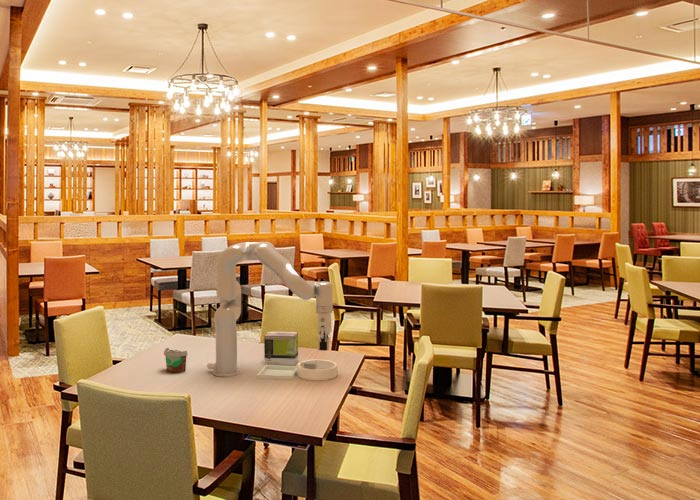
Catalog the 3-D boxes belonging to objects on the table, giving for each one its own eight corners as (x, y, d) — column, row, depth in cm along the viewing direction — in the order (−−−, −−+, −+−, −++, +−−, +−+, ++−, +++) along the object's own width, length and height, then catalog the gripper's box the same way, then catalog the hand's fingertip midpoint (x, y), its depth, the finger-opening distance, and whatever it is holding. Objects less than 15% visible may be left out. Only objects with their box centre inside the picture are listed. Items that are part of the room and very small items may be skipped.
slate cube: (304, 374, 277) (304, 363, 276) (306, 371, 282) (306, 360, 281) (314, 374, 276) (315, 364, 276) (316, 371, 281) (316, 361, 281)
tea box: (298, 360, 303) (298, 331, 302) (294, 366, 293) (294, 336, 292) (268, 359, 304) (268, 330, 303) (263, 365, 294) (263, 334, 293)
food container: (158, 371, 282) (157, 350, 281) (167, 368, 287) (167, 347, 286) (178, 375, 276) (178, 353, 275) (187, 372, 281) (187, 350, 280)
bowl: (293, 380, 271) (293, 369, 270) (301, 368, 288) (301, 358, 288) (334, 381, 269) (334, 371, 268) (339, 370, 287) (339, 360, 286)
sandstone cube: (317, 350, 275) (318, 339, 275) (319, 347, 280) (319, 336, 280) (328, 350, 275) (329, 339, 274) (330, 347, 279) (330, 337, 279)
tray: (256, 379, 271) (256, 374, 271) (265, 369, 287) (265, 365, 287) (292, 380, 270) (292, 376, 270) (299, 370, 286) (299, 366, 285)
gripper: (329, 312, 267) (329, 353, 268) (334, 306, 284) (334, 344, 285) (312, 312, 268) (312, 353, 269) (318, 305, 285) (318, 344, 286)
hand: (324, 348), depth 277 cm, fingers closed on sandstone cube, 5 cm apart
